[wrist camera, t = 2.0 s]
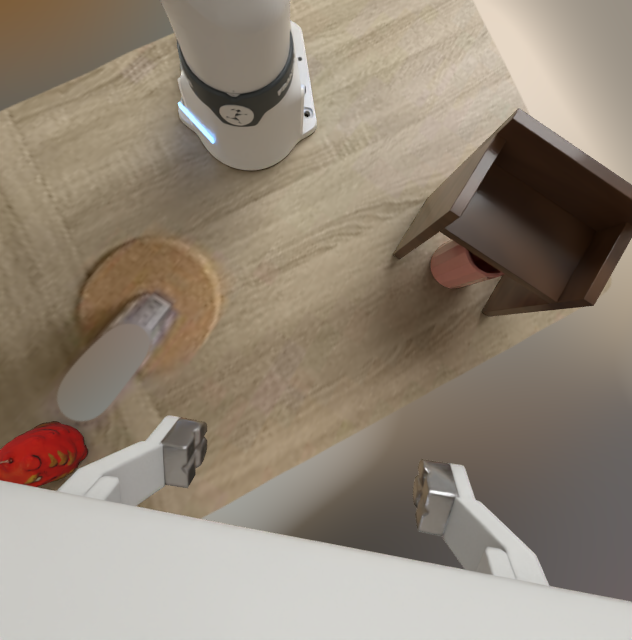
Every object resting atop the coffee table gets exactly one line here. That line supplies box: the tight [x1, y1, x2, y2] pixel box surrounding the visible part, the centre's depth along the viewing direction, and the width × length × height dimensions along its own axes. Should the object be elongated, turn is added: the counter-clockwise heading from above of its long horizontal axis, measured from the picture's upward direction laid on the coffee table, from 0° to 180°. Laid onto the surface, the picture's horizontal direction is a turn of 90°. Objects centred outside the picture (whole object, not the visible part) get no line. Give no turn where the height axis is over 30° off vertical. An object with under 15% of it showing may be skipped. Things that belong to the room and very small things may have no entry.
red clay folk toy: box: [0, 421, 88, 487], centre depth 41 cm, size 8×7×15 cm
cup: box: [431, 239, 504, 288], centre depth 49 cm, size 7×7×10 cm
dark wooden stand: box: [393, 109, 632, 317], centre depth 44 cm, size 10×16×21 cm, turn 58°
